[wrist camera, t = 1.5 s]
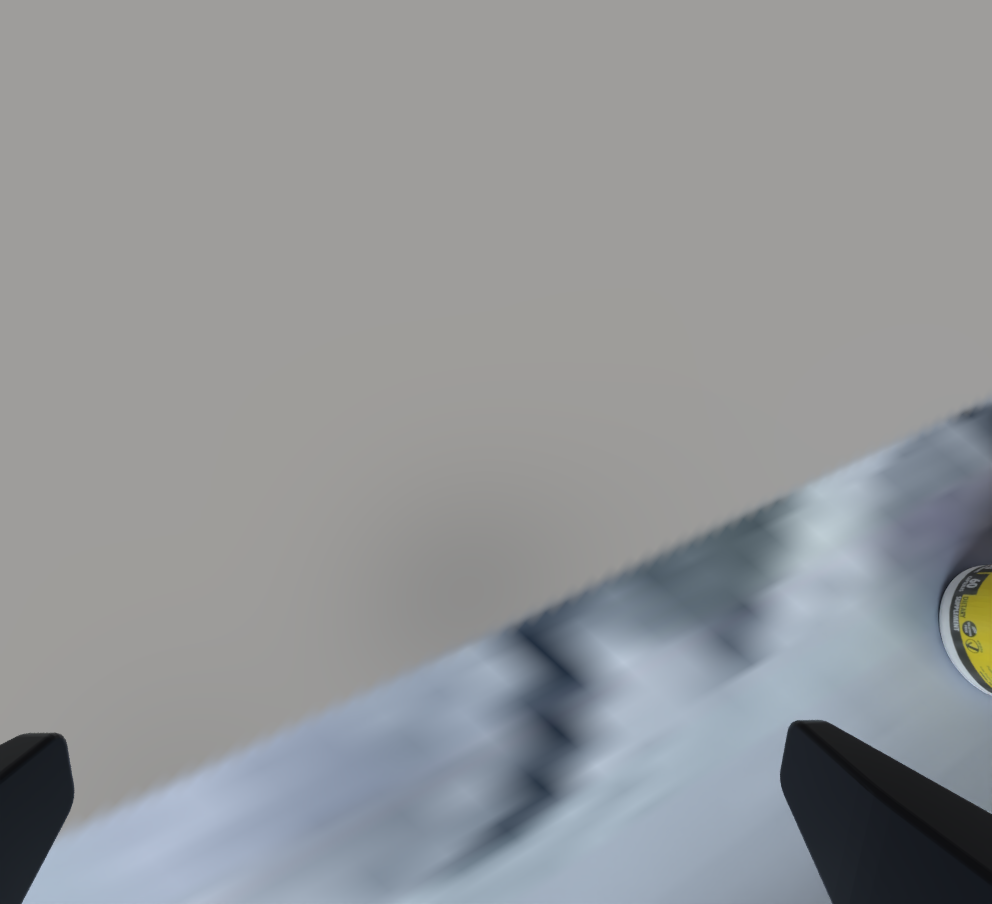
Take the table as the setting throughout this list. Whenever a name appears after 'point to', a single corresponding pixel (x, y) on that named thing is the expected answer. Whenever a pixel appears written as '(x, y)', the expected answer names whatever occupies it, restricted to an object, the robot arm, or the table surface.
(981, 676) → the supplement bottle
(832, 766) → the robot arm
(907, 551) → the table surface
